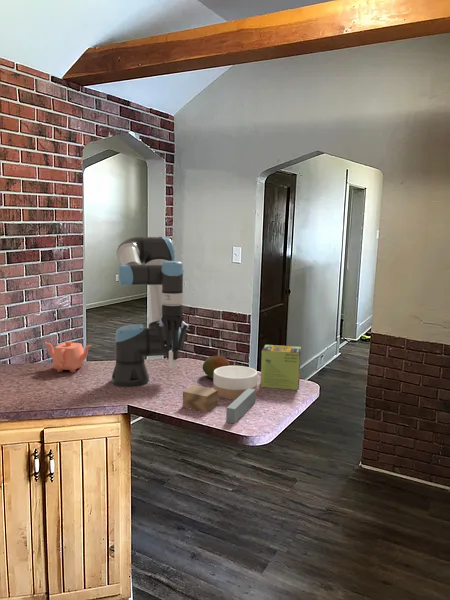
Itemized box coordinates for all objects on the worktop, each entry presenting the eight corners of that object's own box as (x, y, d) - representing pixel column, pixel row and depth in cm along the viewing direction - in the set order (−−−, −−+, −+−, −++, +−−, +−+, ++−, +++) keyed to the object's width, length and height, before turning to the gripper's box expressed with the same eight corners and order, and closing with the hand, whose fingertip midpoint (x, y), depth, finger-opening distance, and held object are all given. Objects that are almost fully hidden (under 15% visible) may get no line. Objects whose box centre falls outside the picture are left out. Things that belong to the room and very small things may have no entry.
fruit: (220, 384, 212) (220, 360, 211) (195, 378, 219) (195, 356, 217) (234, 377, 222) (235, 354, 221) (210, 372, 229) (210, 350, 227)
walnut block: (182, 407, 186) (182, 391, 185) (194, 400, 193) (194, 385, 192) (206, 412, 182) (206, 396, 181) (217, 405, 188) (218, 390, 188)
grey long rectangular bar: (226, 421, 173) (226, 407, 172) (247, 401, 193) (247, 388, 193) (234, 423, 172) (235, 409, 171) (255, 402, 192) (255, 389, 191)
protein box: (298, 390, 207) (299, 352, 204) (260, 387, 210) (261, 350, 207) (299, 382, 217) (301, 346, 214) (263, 379, 220) (264, 344, 217)
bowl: (265, 392, 204) (266, 372, 202) (235, 402, 192) (236, 381, 190) (234, 382, 216) (234, 363, 214) (204, 391, 203) (204, 371, 202)
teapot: (45, 367, 231) (44, 340, 229) (81, 362, 240) (80, 335, 238) (56, 376, 219) (55, 347, 217) (93, 370, 228) (93, 342, 226)
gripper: (151, 304, 185) (151, 368, 188) (184, 306, 180) (183, 372, 183) (161, 301, 191) (161, 363, 195) (193, 304, 187) (192, 367, 190)
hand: (172, 367), depth 189 cm, fingers closed
